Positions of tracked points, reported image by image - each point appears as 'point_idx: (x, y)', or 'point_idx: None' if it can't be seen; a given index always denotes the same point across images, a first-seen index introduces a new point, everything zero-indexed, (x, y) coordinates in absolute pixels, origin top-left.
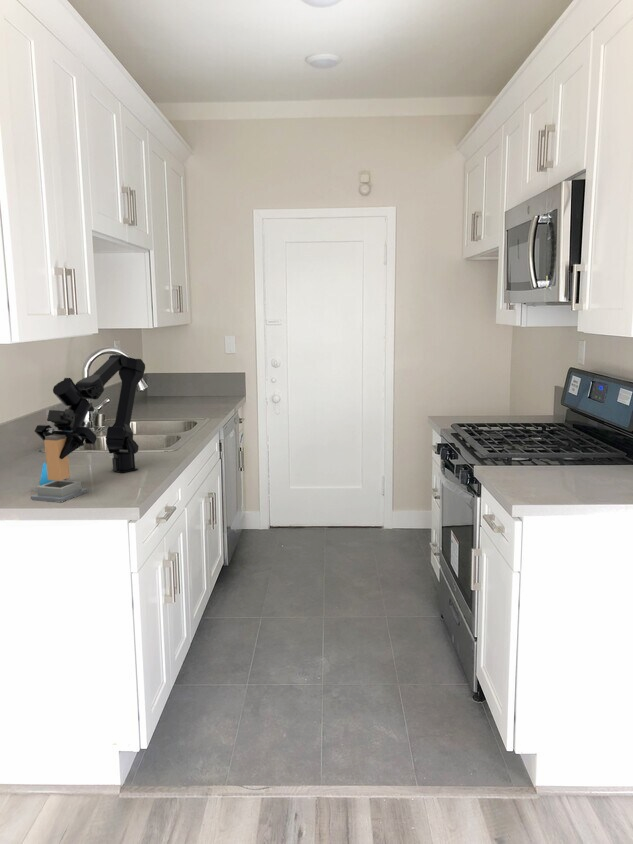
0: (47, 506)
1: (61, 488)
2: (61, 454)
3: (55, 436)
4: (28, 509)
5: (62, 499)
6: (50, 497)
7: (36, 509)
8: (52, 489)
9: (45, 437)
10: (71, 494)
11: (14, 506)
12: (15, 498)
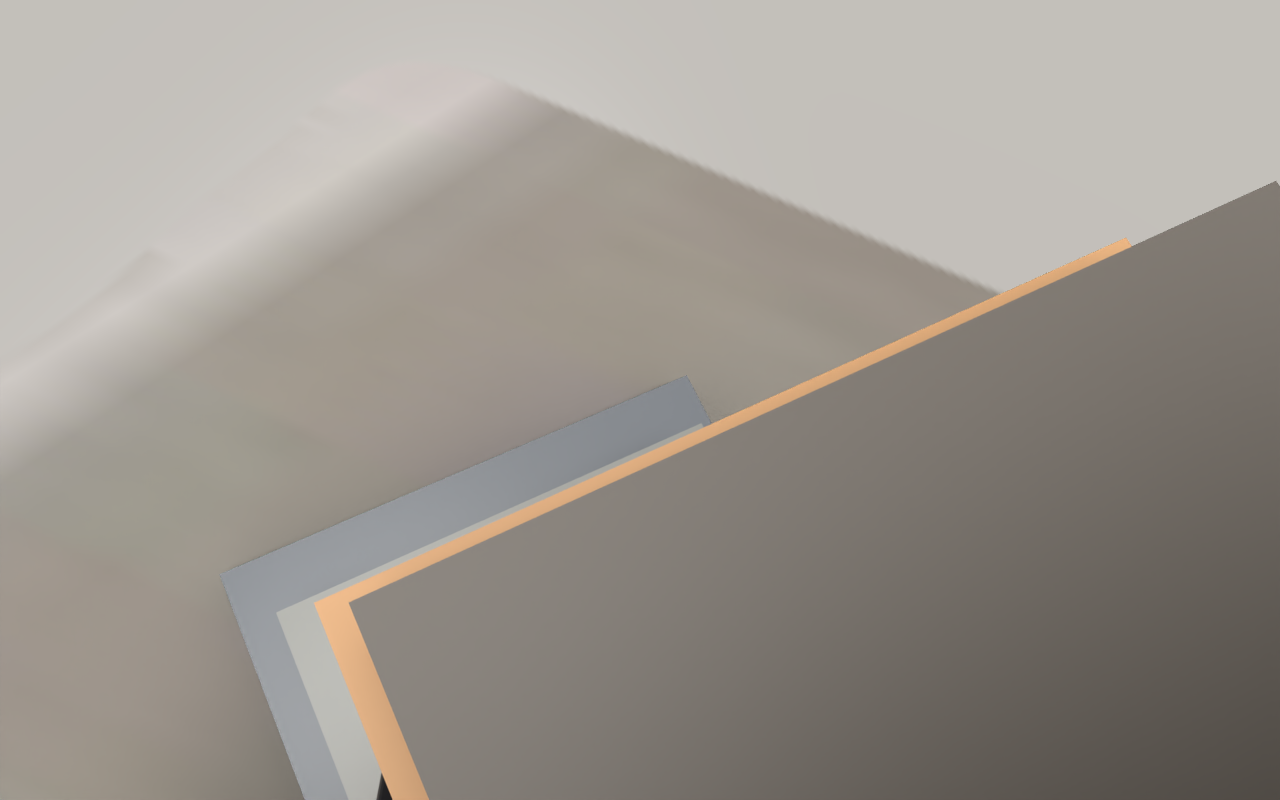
0: (222, 380)
1: (305, 629)
2: (389, 796)
3: (824, 748)
4: (298, 194)
5: (228, 594)
6: (429, 511)
7: (216, 245)
8: (443, 541)
9: (1214, 222)
10: (328, 796)
11: (544, 163)
12: (855, 306)
